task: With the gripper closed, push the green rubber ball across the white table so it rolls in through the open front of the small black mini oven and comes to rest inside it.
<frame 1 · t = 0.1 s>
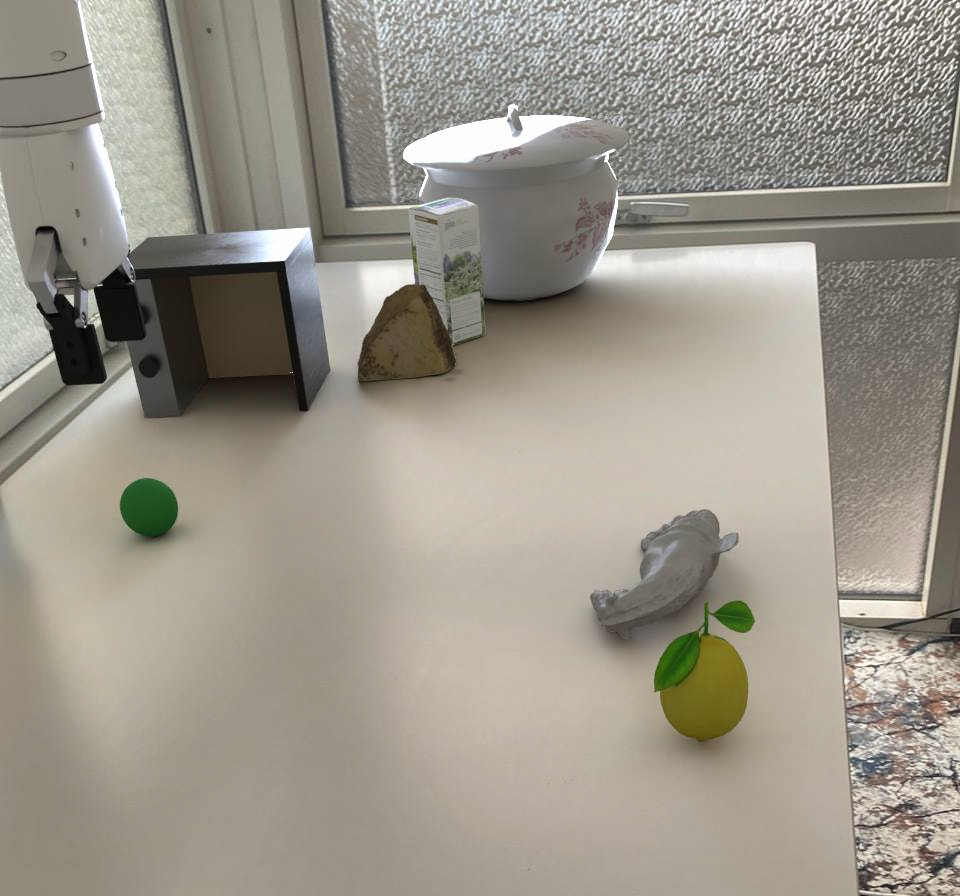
hand: (107, 360, 99), 18 cm above the table, tool pointing down, fingers open, 9 cm apart
syrup box: (453, 339, 157), on the table
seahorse: (663, 592, 103), on the table
chamber pot: (524, 287, 172), on the table
lemon: (703, 740, 87), on the table
rock: (406, 375, 148), on the table
ball: (149, 507, 117), point 2 cm above the table
mini oven: (239, 393, 147), on the table
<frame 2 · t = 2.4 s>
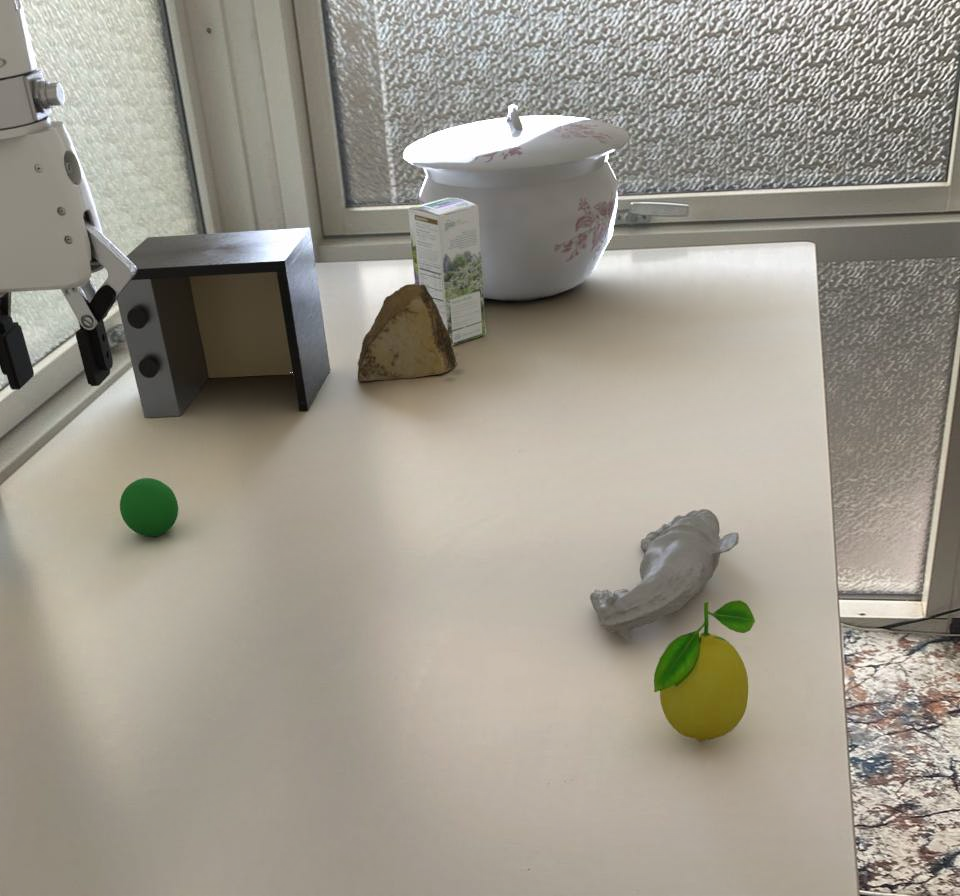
hand: (60, 379, 99), 17 cm above the table, tool pointing down, fingers open, 5 cm apart
nothing on the table moved.
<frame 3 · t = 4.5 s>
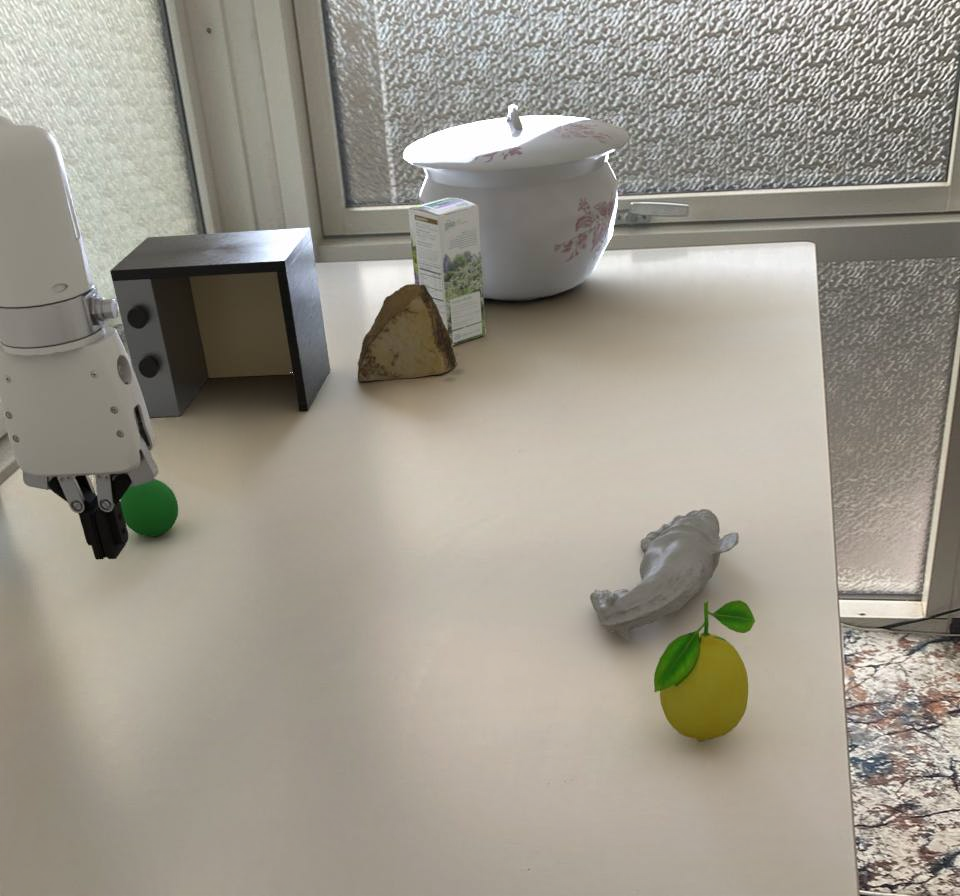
hand: (111, 551, 108), 3 cm above the table, tool pointing down, fingers closed
nothing on the table moved.
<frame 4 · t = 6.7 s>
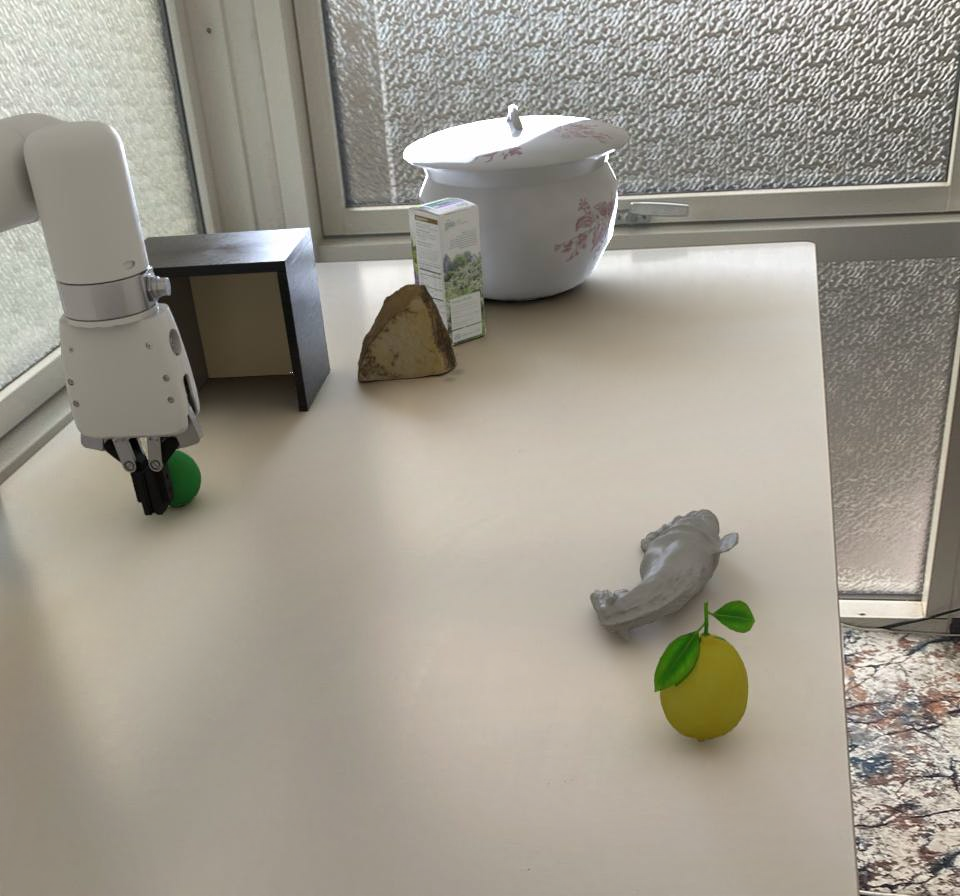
hand: (158, 508, 120), 1 cm above the table, tool pointing down, fingers closed
ball: (173, 478, 122), point 2 cm above the table, tilted 148°
everything else where it was.
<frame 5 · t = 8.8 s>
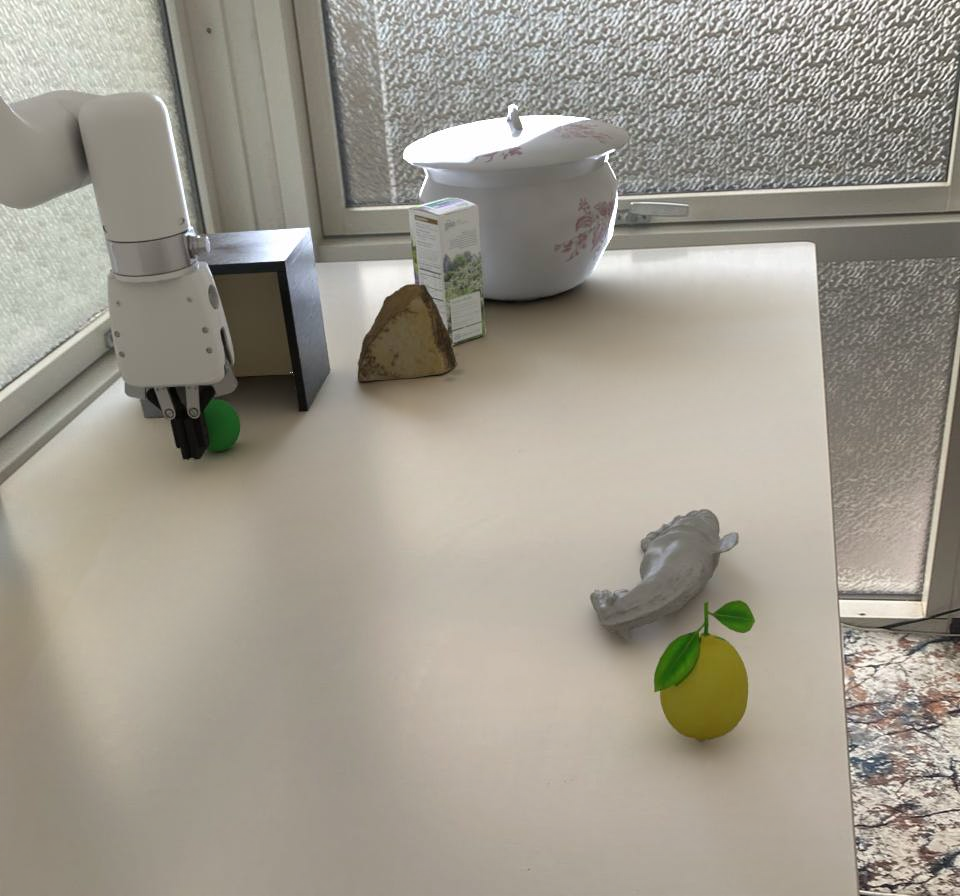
hand: (195, 454, 129), 1 cm above the table, tool pointing down, fingers closed
ball: (215, 425, 132), point 2 cm above the table, tilted 88°
everything else where it was.
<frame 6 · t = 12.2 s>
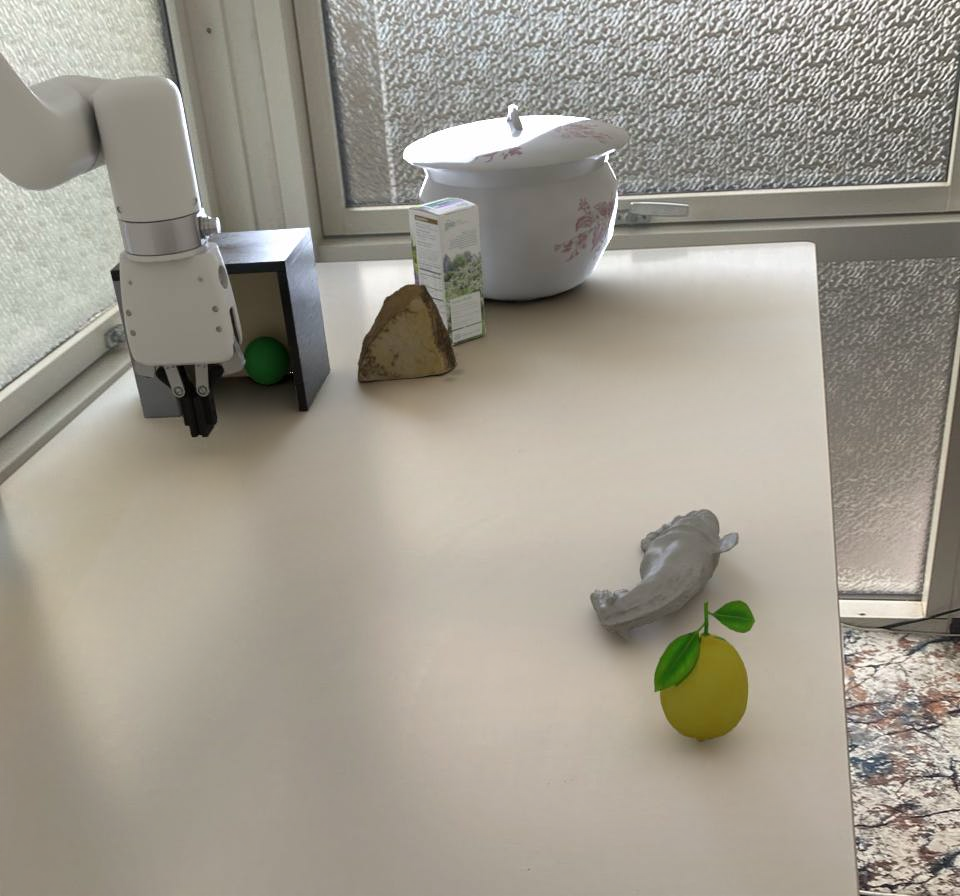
hand: (203, 431, 132), 2 cm above the table, tool pointing down, fingers closed
ball: (266, 360, 147), point 2 cm above the table, tilted 172°
everything else where it was.
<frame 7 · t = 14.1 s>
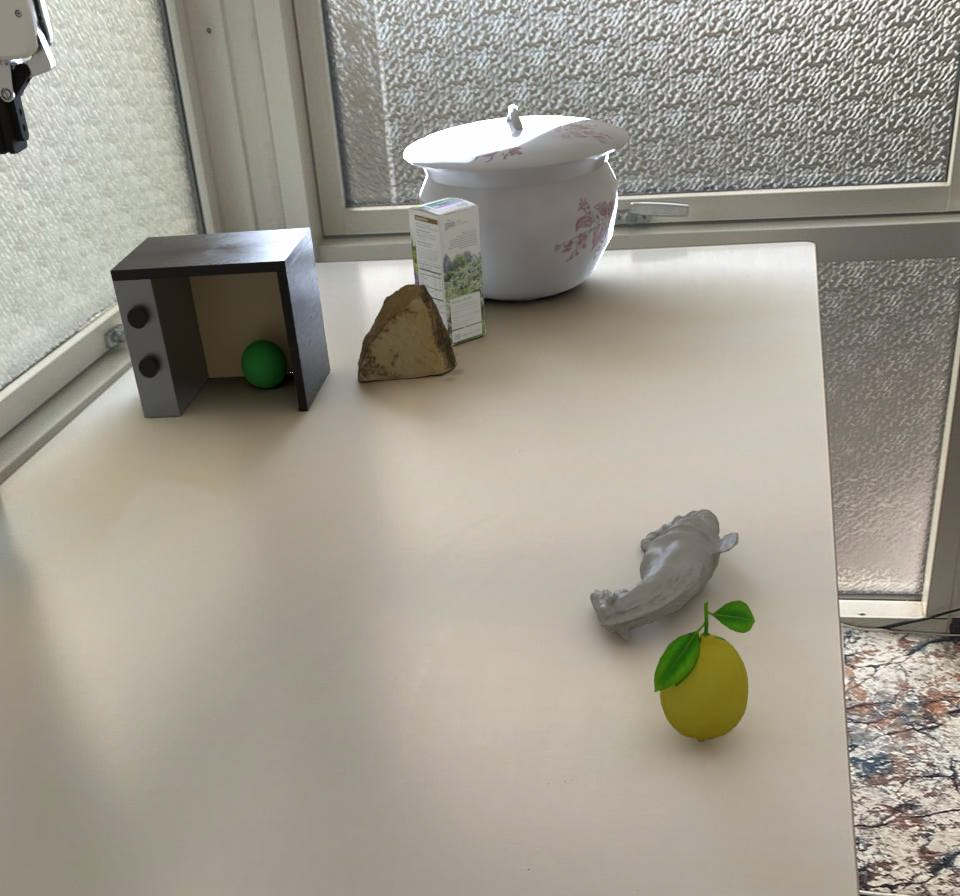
hand: (13, 150, 118), 28 cm above the table, tool pointing down, fingers closed
ball: (264, 364, 146), point 2 cm above the table, tilted 146°
everything else where it was.
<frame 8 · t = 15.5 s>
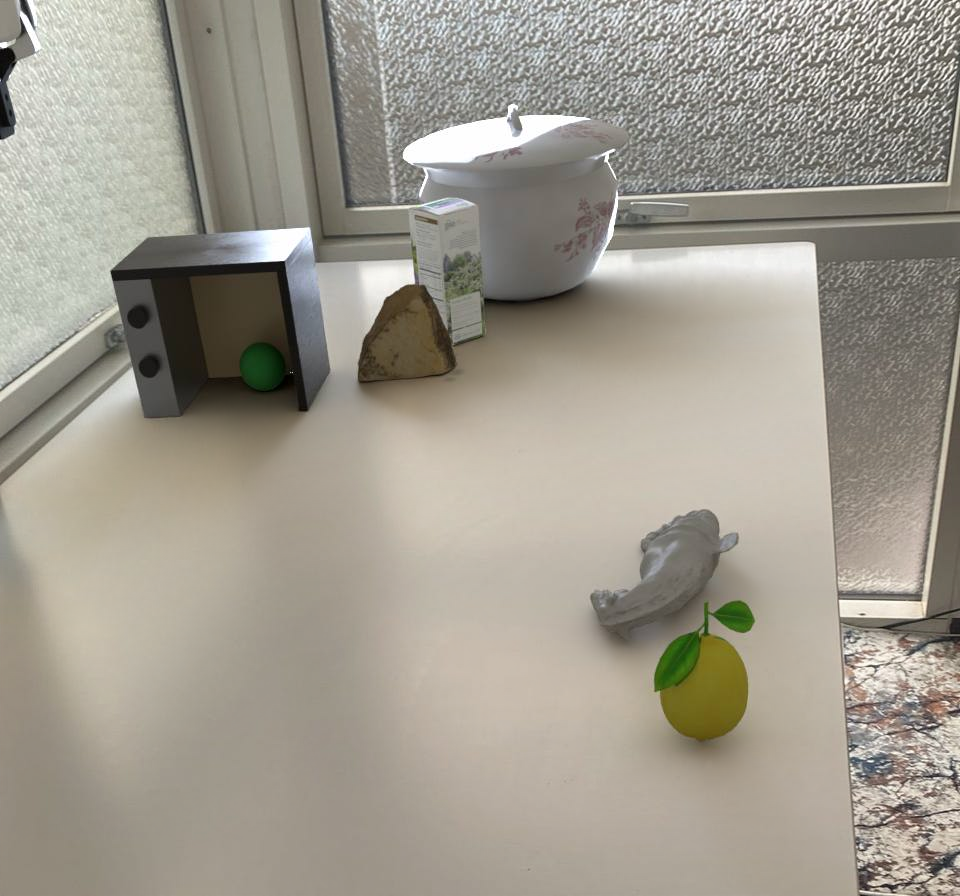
hand: (0, 136, 117), 29 cm above the table, tool pointing down, fingers closed
ball: (262, 366, 146), point 2 cm above the table, tilted 127°
everything else where it was.
at the end: ball inside the target area on the mini oven (1.4 cm from its centre), point 2.5 cm above the mini oven's base; ball moved 36.8 cm from its start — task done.
